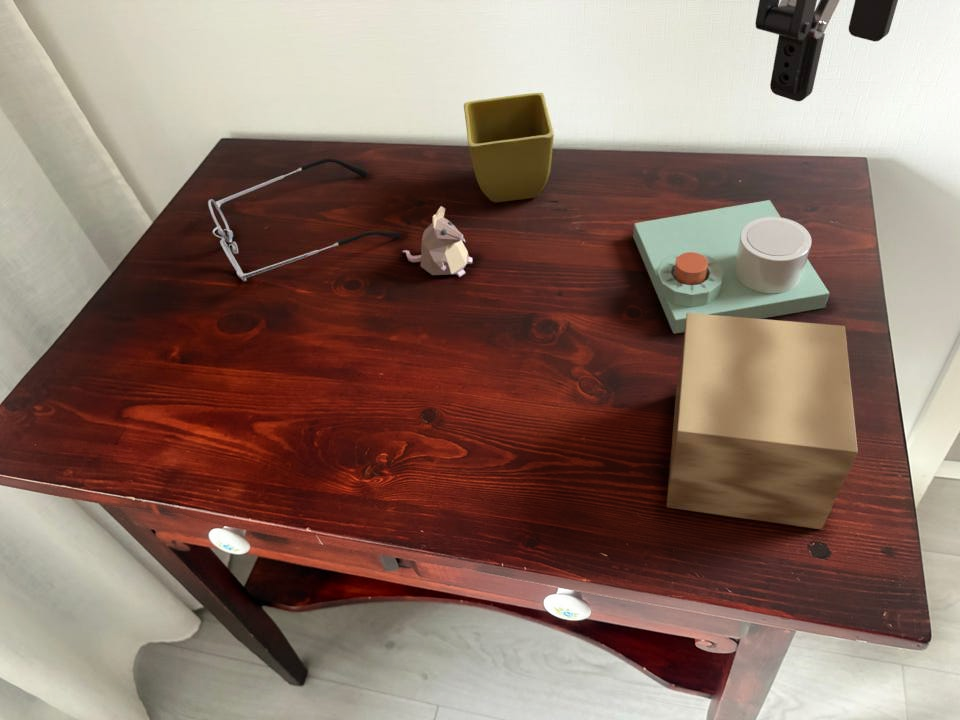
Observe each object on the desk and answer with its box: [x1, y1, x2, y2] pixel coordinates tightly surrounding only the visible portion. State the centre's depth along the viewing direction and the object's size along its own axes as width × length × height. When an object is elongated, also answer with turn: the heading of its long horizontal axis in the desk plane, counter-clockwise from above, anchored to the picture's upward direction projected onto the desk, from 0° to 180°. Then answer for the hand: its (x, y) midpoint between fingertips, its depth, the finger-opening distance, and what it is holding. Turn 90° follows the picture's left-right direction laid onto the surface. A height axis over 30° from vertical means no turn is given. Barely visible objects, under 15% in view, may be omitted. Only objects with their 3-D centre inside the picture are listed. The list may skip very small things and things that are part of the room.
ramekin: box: [734, 216, 813, 294], centre depth 68 cm, size 6×6×4 cm
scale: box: [632, 199, 830, 335], centre depth 72 cm, size 14×14×4 cm
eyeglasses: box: [207, 158, 404, 283], centre depth 82 cm, size 16×19×5 cm
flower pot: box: [463, 92, 555, 203], centre depth 82 cm, size 9×9×9 cm
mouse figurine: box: [402, 205, 473, 278], centre depth 76 cm, size 5×8×7 cm, turn 64°
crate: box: [666, 313, 859, 530], centre depth 55 cm, size 11×11×10 cm
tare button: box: [674, 252, 708, 285], centre depth 68 cm, size 3×3×2 cm
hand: (829, 64), depth 44 cm, fingers open, 8 cm apart
